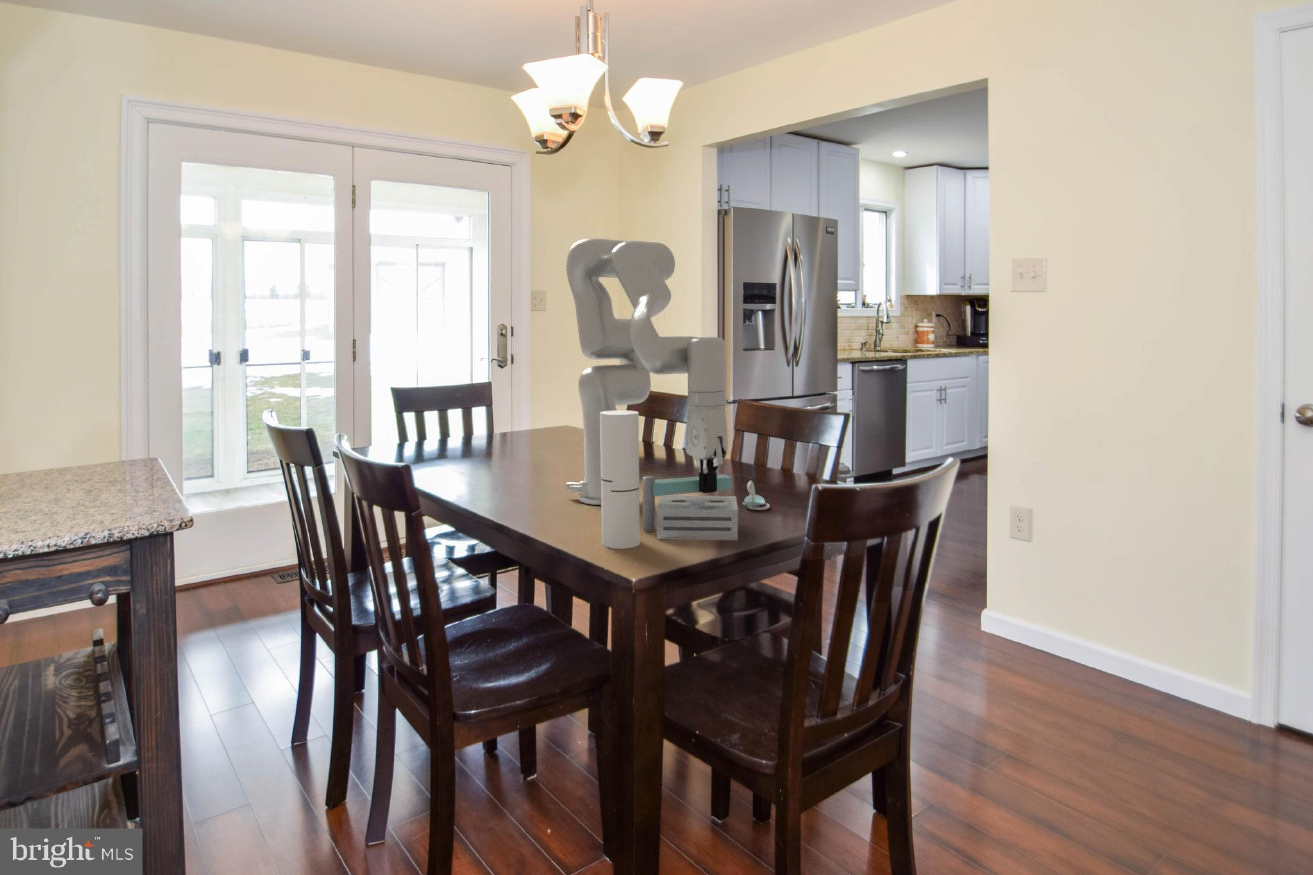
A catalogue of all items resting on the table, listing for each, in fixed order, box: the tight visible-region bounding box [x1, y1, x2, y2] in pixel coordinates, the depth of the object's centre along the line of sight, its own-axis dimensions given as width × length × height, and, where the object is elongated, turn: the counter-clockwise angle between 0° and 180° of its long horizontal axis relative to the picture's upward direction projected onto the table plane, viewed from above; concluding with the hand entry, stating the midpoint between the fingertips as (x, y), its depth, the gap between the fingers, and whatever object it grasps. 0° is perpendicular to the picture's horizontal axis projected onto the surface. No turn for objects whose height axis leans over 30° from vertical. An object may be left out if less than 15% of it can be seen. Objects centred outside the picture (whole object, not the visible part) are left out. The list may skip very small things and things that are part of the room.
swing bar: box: [642, 474, 733, 532], centre depth 163 cm, size 19×4×11 cm, turn 111°
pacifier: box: [742, 480, 771, 511], centre depth 180 cm, size 7×6×6 cm
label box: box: [656, 495, 739, 541], centre depth 159 cm, size 16×12×6 cm
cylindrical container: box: [600, 409, 641, 550], centre depth 150 cm, size 7×7×25 cm
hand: (708, 491), depth 160 cm, fingers closed
